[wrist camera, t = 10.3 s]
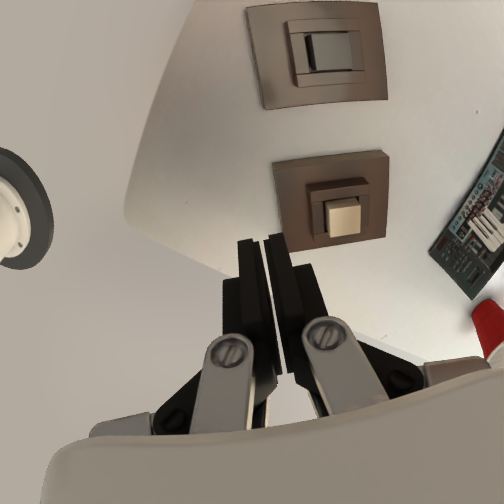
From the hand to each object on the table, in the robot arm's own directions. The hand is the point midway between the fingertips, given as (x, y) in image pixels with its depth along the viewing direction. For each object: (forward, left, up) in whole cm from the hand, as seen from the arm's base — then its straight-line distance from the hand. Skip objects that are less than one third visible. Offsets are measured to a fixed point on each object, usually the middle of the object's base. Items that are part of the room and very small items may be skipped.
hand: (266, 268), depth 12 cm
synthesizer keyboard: (+30, -11, -22) cm, 38 cm away
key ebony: (+8, +7, -18) cm, 21 cm away
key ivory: (+8, -9, -18) cm, 21 cm away
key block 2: (+8, -9, -21) cm, 24 cm away
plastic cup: (+40, -37, -22) cm, 58 cm away
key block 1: (+8, +7, -21) cm, 24 cm away
